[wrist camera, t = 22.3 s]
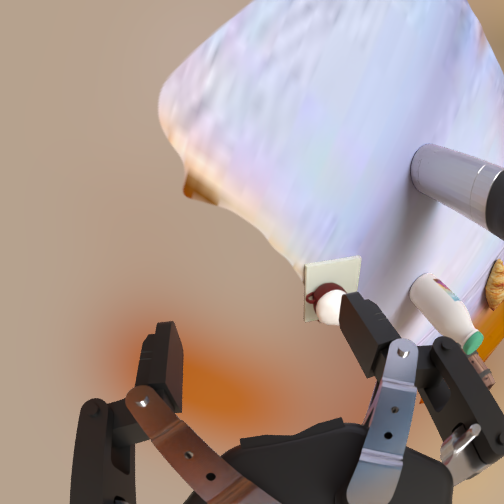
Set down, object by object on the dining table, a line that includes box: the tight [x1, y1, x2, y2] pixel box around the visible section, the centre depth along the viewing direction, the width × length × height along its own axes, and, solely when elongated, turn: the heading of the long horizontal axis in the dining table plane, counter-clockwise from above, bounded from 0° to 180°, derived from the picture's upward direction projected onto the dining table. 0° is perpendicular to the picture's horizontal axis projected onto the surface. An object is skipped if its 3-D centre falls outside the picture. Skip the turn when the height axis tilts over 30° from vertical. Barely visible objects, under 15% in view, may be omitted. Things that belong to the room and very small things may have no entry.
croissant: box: [485, 259, 504, 311], centre depth 57 cm, size 21×10×8 cm, turn 30°
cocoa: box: [305, 282, 347, 325], centre depth 43 cm, size 10×6×12 cm, turn 54°
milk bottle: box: [410, 273, 483, 355], centre depth 44 cm, size 8×8×20 cm
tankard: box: [457, 342, 495, 390], centre depth 63 cm, size 24×17×20 cm
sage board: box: [304, 255, 361, 322], centre depth 48 cm, size 10×12×1 cm
